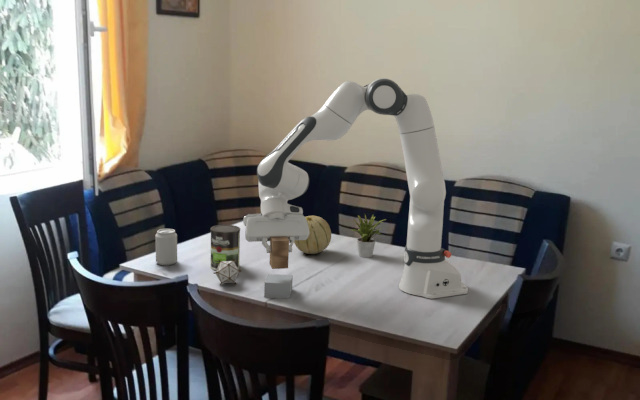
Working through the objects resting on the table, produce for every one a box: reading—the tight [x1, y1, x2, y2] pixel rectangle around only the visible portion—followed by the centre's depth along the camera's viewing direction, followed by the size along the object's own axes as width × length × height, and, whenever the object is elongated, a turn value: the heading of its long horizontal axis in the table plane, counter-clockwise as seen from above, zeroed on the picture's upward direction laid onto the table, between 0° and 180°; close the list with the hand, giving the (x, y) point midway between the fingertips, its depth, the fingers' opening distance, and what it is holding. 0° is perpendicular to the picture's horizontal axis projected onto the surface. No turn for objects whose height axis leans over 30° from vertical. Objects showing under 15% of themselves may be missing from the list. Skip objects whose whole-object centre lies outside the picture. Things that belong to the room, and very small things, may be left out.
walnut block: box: [269, 237, 290, 270], centre depth 200 cm, size 5×5×9 cm
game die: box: [213, 258, 242, 286], centre depth 208 cm, size 9×8×10 cm
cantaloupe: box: [293, 215, 332, 255], centre depth 243 cm, size 15×15×15 cm
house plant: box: [351, 214, 387, 258], centre depth 242 cm, size 14×14×16 cm
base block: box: [263, 273, 293, 299], centre depth 202 cm, size 8×8×5 cm
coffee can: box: [209, 224, 241, 271], centre depth 224 cm, size 10×10×14 cm
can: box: [154, 228, 178, 266], centre depth 226 cm, size 8×8×12 cm
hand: (279, 251), depth 199 cm, fingers closed on walnut block, 5 cm apart
